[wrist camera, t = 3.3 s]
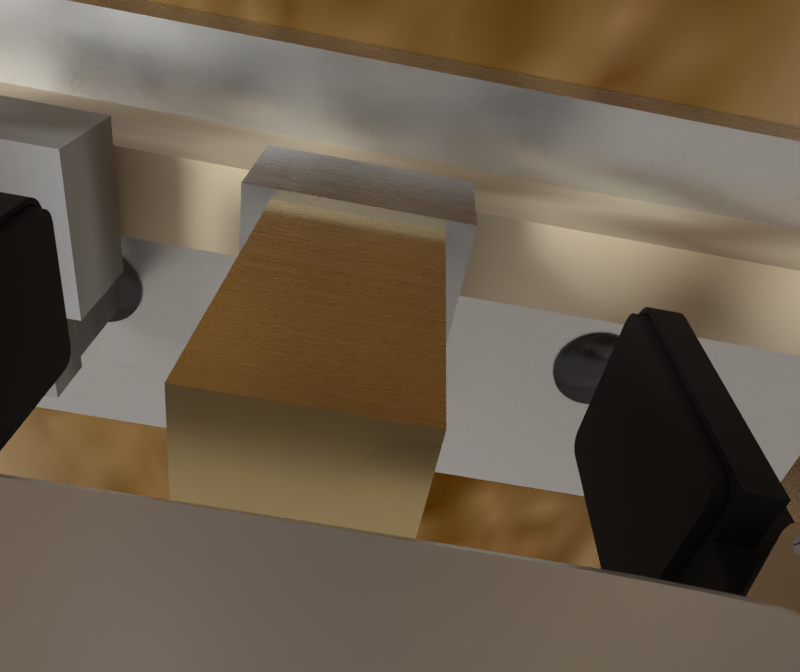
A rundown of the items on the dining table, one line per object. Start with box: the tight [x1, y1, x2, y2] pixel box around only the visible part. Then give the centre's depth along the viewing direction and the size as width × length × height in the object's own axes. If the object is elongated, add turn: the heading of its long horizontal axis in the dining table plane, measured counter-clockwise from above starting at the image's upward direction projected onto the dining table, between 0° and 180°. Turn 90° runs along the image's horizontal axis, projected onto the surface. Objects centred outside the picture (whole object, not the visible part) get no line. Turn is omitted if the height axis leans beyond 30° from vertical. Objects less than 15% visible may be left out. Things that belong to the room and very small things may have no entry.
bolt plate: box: [0, 0, 800, 496], centre depth 18 cm, size 28×12×2 cm, turn 80°
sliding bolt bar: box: [0, 82, 800, 398], centre depth 15 cm, size 23×6×5 cm, turn 80°
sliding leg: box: [164, 145, 477, 539], centre depth 12 cm, size 4×6×9 cm, turn 170°
